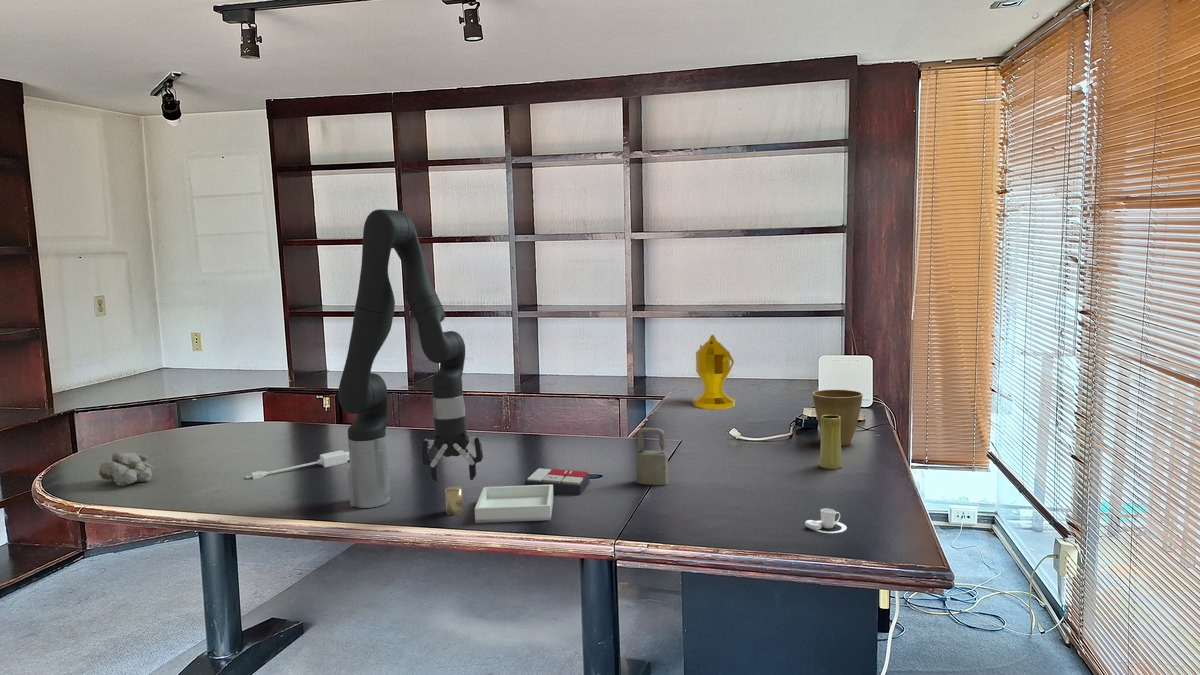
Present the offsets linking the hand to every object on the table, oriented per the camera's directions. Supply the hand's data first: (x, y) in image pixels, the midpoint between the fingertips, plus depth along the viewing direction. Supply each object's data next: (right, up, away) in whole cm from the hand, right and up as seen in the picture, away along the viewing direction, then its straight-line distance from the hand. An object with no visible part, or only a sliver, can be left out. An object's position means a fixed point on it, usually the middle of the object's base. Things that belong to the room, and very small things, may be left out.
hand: (454, 480), depth 189 cm
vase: (+100, -2, +30) cm, 105 cm away
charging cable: (-53, -5, +46) cm, 70 cm away
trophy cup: (+81, +8, +121) cm, 146 cm away
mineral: (-101, -8, +36) cm, 108 cm away
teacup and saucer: (+84, -8, -14) cm, 86 cm away
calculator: (+24, -6, +18) cm, 31 cm away
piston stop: (0, -8, +1) cm, 8 cm away
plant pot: (+110, +1, +55) cm, 123 cm away
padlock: (+49, -5, +20) cm, 53 cm away
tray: (+15, -8, +1) cm, 17 cm away
